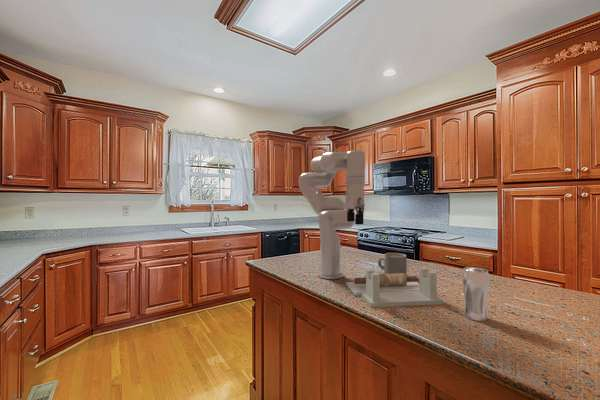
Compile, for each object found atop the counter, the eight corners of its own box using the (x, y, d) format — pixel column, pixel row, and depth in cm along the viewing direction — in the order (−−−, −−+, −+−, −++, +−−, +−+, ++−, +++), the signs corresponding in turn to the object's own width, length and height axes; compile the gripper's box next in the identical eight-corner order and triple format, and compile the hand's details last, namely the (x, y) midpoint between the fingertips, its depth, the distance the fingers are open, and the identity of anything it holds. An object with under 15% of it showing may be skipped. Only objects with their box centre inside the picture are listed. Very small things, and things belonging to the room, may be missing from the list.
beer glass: (493, 323, 83) (493, 273, 82) (467, 321, 84) (467, 272, 84) (482, 313, 90) (483, 267, 89) (459, 311, 91) (459, 266, 91)
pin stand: (361, 296, 105) (361, 268, 105) (426, 294, 107) (426, 266, 107) (370, 307, 95) (370, 276, 95) (442, 304, 97) (442, 273, 97)
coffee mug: (410, 275, 132) (410, 254, 132) (400, 280, 126) (399, 258, 126) (385, 270, 142) (385, 250, 142) (374, 274, 136) (374, 253, 136)
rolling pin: (356, 289, 112) (357, 280, 110) (352, 281, 116) (354, 272, 114) (417, 287, 114) (419, 277, 112) (412, 279, 118) (414, 270, 117)
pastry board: (346, 284, 119) (346, 282, 119) (412, 282, 122) (412, 279, 122) (355, 295, 106) (355, 292, 106) (429, 292, 109) (429, 289, 109)
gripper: (340, 181, 121) (339, 220, 122) (354, 180, 104) (353, 225, 105) (356, 181, 122) (356, 220, 123) (372, 180, 105) (372, 225, 106)
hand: (354, 222), depth 114 cm, fingers open, 9 cm apart
